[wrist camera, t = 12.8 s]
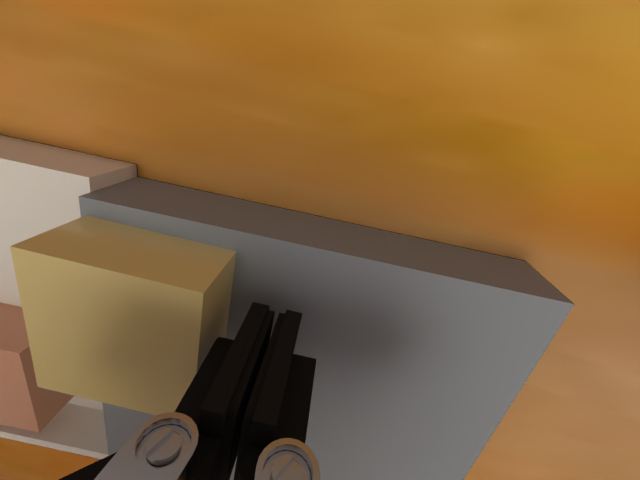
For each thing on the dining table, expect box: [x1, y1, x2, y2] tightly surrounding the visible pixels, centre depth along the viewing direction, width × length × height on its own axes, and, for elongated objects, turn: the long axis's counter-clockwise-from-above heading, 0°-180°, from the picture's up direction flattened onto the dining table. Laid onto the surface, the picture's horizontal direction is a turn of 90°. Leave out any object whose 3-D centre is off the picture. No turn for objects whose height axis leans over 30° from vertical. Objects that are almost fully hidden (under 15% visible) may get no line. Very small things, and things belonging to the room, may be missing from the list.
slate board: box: [79, 177, 574, 480], centre depth 14 cm, size 14×16×3 cm
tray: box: [0, 135, 137, 459], centre depth 14 cm, size 15×9×2 cm, turn 169°
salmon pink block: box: [0, 302, 74, 432], centre depth 15 cm, size 5×5×2 cm
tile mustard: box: [10, 215, 237, 415], centre depth 10 cm, size 5×5×2 cm
